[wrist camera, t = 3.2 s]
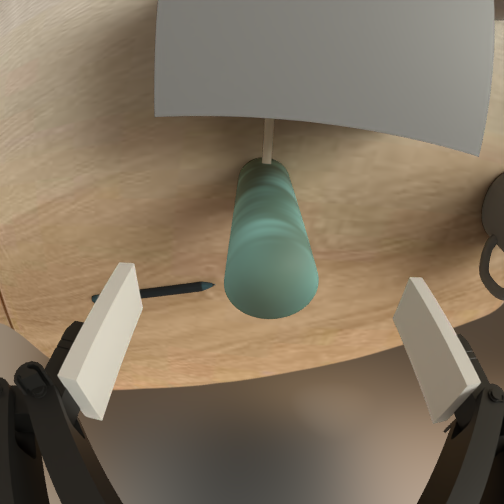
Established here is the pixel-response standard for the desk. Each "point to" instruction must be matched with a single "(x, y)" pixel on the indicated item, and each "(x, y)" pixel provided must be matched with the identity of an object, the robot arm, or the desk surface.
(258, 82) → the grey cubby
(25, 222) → the desk surface
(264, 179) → the tethered cylinder
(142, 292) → the pen
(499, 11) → the pillar candle
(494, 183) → the mug
